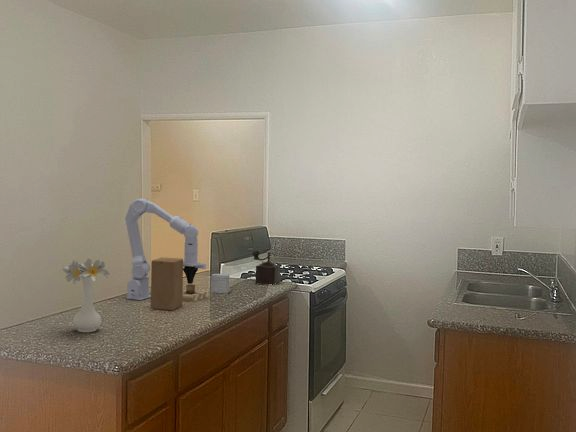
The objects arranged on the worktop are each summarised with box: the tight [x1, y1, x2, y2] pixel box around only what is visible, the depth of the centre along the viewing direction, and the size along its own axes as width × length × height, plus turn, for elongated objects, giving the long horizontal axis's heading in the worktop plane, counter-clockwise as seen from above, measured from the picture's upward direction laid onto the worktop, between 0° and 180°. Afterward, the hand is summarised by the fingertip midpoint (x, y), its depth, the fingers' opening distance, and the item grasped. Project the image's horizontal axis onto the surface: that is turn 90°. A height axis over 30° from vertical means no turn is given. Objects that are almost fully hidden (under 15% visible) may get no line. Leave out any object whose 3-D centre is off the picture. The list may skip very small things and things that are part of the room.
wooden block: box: [150, 257, 184, 311], centre depth 235 cm, size 10×10×20 cm
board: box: [182, 288, 210, 303], centre depth 256 cm, size 14×12×2 cm
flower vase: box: [62, 257, 110, 333], centre depth 195 cm, size 13×18×25 cm
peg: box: [185, 284, 196, 294], centre depth 254 cm, size 4×4×6 cm
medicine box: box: [210, 273, 230, 294], centre depth 270 cm, size 8×4×9 cm, turn 84°
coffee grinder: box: [252, 249, 281, 286], centre depth 297 cm, size 16×11×18 cm
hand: (190, 283), depth 254 cm, fingers closed
